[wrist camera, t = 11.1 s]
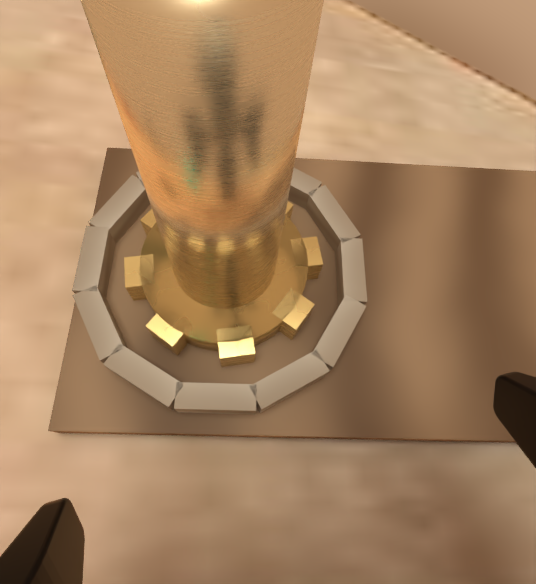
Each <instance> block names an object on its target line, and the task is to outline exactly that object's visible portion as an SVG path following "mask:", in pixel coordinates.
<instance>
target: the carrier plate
mask: <svg viewBox="0 0 536 584" xmlns="http://www.w3.org/2000/svg"><path fill="white" fill-rule="evenodd" d="M288 202H290V203H292V204H293V210H292V215H291V221H292V222H293V224H294V225H295V226H296V228H297V230H298V231H299V233H300V235H301V237H302V238H307V237H316V236H317V239H318V244H319V248H320V252H321V257H322V261H323V266H322V269H321V271H320V273H319V276H318V278H317V279H310V280H307V281H306V285H305V288H304V291H303V294H302V296H304V297H305V298H307V299H308V300H310V301H311V302H312V303H314V304H315V305H314V307H313V310H312V312H311V314H310V316H309V317H308V319H307V320H306V322H305V323H304V324H303V326H302V327H301V328H300V330H299V331H298V332H297V334H296V335H295V337H294V338H293V339H292V340H291V339H289V338H288V337H287V336H285V335H284V334H282V333H281V332H280V331H279V332H278V333H277V334H276V335H274V336H273V337H271V338H270V339H268V340H267V341H265V342H263V343H261V344H259V345H256V346H254V348H255V360H254V362H253V363H246V364H239V365H232V366H225V367H221V362H220V356H219V351H210V350H205V349H201V348H198V347H195V346H192V345H190V344H187V345H186V347H185V348H184V349H183V350H182V351H181V353H180V354H179V355H178V356H177V355H176V354H175V353H173V352H172V351H171V350H169V349H168V348H167V347H165V346H164V345H163V344H161V343H160V342H159V341H158V340H156V339H155V338H154V337H152V335H151V334H150V332H149V331H148V329H147V328H146V325H147V324H148V323H149V321H150V320H151V319H152V318H153V317H154V316H155V315H156V314H155V313H154V311H153V309H152V307H151V305H150V304H149V302H148V300H147V299H145V300H137V301H133V299H132V297H131V296H130V294H129V293H128V291H127V290H126V288H125V268H124V257H133V256H140V255H141V250H142V247H143V244H144V241H145V239H146V237H147V236H146V233H145V231H144V229H143V226H142V224H141V221H140V220H141V219H142V218H143V217H144V216H145V215H146V214H147V213H148V212H149V211H150V210H151V209H152V207H151V204H150V201H149V199H148V196H147V193H146V190H145V187H144V184H143V181H142V178H141V175H140V172H139V169H138V166H137V163H136V161H135V158H134V155H133V152H132V149H122V148H107V152H106V157H105V162H104V166H103V171H102V176H101V181H100V186H99V190H98V195H97V200H96V205H95V209H94V214H93V217H92V219H91V220H90V221H89V224H90V226H86V229H85V233H84V238H83V243H82V247H81V252H80V257H79V261H78V266H77V271H76V275H75V280H74V285H73V289H72V291H73V292H74V293H75V294H74V295H73V297H74V300H75V305H74V310H73V315H72V319H71V324H70V329H69V334H68V338H67V343H66V348H65V353H64V358H63V362H62V367H61V372H60V377H59V381H58V386H57V391H56V396H55V401H54V405H53V410H52V415H51V420H50V424H49V429H48V431H52V432H58V433H98V434H145V435H192V436H239V437H286V438H332V439H379V440H426V441H473V442H515V440H514V439H513V438H512V436H511V435H510V434H509V432H508V431H507V430H506V428H505V427H504V426H503V424H502V423H501V422H500V420H499V419H498V418H497V416H496V414H495V412H494V409H493V400H494V389H495V380H496V378H497V377H498V376H499V375H503V374H506V373H510V372H520V373H524V374H527V375H531V376H534V377H536V171H521V170H502V169H484V168H466V167H448V166H430V165H412V164H394V163H376V162H358V161H339V160H321V159H303V158H295V163H294V168H293V174H292V180H291V185H290V191H289V196H288Z"/></svg>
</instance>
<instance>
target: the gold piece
mask: <svg viewBox="0 0 536 584" xmlns="http://www.w3.org/2000/svg"><path fill="white" fill-rule="evenodd" d="M323 1H324V0H81V3H82V6H83V8H84V11H85V14H86V17H87V20H88V23H89V26H90V29H91V32H92V35H93V38H94V41H95V44H96V46H97V49H98V52H99V55H100V58H101V61H102V64H103V67H104V70H105V73H106V76H107V79H108V82H109V84H110V87H111V90H112V93H113V96H114V99H115V102H116V105H117V108H118V111H119V114H120V117H121V120H122V122H123V125H124V128H125V131H126V134H127V137H128V140H129V143H130V146H131V149H132V152H133V155H134V158H135V161H136V163H137V166H138V169H139V172H140V175H141V178H142V181H143V184H144V187H145V190H146V193H147V196H148V199H149V201H150V204H151V207H152V209H151V210H150V211H149V212H148V213H147V214H146V215H145V216H144V217H143V218H142V219H141V220H140V221H141V224H142V226H143V229H144V231H145V233H146V236H147V237H146V239H145V241H144V244H143V247H142V250H141V255H140V256H133V257H124V268H125V288H126V290H127V291H128V293H129V294H130V296H131V297H132V299H133V301H137V300H145V299H147V300H148V302H149V304H150V305H151V307H152V309H153V311H154V313H155V314H156V315H155V316H154V317H153V318H152V319H151V320H150V321H149V323H148V324H147V325H146V328H147V329H148V331H149V332H150V334H151V335H152V337H154V338H155V339H156V340H158V341H159V342H160V343H161V344H163V345H164V346H165V347H167V348H168V349H169V350H171V351H172V352H173V353H175V354H176V355H177V356H178V355H179V354H180V353H181V351H182V350H183V349H184V348H185V347H186V345H187V344H190V345H192V346H195V347H198V348H201V349H205V350H210V351H219V356H220V362H221V367H225V366H232V365H239V364H246V363H253V362H254V360H255V348H254V346H256V345H259V344H261V343H263V342H265V341H267V340H268V339H270V338H271V337H273V336H274V335H276V334H277V333H278V332H279V331H280V332H281V333H282V334H284V335H285V336H287V337H288V338H289V339H291V340H292V339H293V338H294V337H295V335H296V334H297V332H298V331H299V330H300V328H301V327H302V326H303V324H304V323H305V322H306V320H307V319H308V317H309V316H310V314H311V312H312V310H313V307H314V305H315V304H314V303H312V302H311V301H310V300H308V299H307V298H305V297H304V296H302V294H303V291H304V288H305V285H306V281H307V280H310V279H317V278H318V276H319V273H320V271H321V269H322V266H323V261H322V257H321V252H320V248H319V244H318V239H317V236H316V237H307V238H302V237H301V235H300V233H299V231H298V230H297V228H296V226H295V225H294V224H293V222H292V221H291V215H292V210H293V204H292V203H290V202H288V196H289V191H290V185H291V180H292V174H293V168H294V163H295V157H296V152H297V146H298V140H299V135H300V129H301V124H302V118H303V113H304V107H305V101H306V96H307V90H308V85H309V79H310V73H311V68H312V62H313V57H314V51H315V45H316V40H317V34H318V29H319V23H320V18H321V12H322V6H323Z"/></svg>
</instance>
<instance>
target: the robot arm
mask: <svg viewBox="0 0 536 584" xmlns="http://www.w3.org/2000/svg"><path fill="white" fill-rule="evenodd" d="M493 409H494V412H495V414H496V416H497V418H498V419H499V420H500V422H501V423H502V424H503V426H504V427H505V428H506V430H507V431H508V432H509V434H510V435H511V436H512V438H513V439H514V440H515V442H516V443H517V444H518V446H519V447H520V448H521V450H522V451H523V452H524V453H525V455H526V456H527V457H528V459H529V460H530V461H531V463H532V464H533V465H534V467H535V468H536V377H534V376H531V375H527V374H524V373H520V372H510V373H506V374H503V375H499V376H498V377H497V378H496V380H495V389H494V400H493ZM84 541H85V538H84V530H83V527H82V524H81V522H80V520H79V518H78V516H77V514H76V511H75V509H74V507H73V505H72V503H71V501H70V500H69V499H67V498H62V499H59V500H55V501H52V502H48V503H46V504H44V505H43V506H42V507H41V508H40V509H39V510H38V511H37V512H36V514H35V515H34V516H33V517H32V519H31V520H30V521H29V522H28V523H27V525H26V526H25V527H24V528H23V530H22V531H21V532H20V533H19V534H18V536H17V537H16V538H15V539H14V541H13V542H12V543H11V544H10V545H9V547H8V548H7V549H6V550H5V551H4V553H3V554H2V555H1V556H0V584H82V581H83V561H84Z"/></svg>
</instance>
